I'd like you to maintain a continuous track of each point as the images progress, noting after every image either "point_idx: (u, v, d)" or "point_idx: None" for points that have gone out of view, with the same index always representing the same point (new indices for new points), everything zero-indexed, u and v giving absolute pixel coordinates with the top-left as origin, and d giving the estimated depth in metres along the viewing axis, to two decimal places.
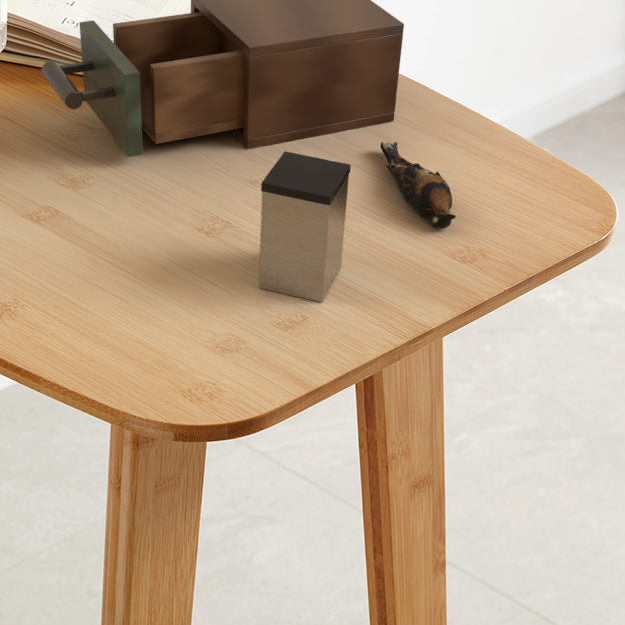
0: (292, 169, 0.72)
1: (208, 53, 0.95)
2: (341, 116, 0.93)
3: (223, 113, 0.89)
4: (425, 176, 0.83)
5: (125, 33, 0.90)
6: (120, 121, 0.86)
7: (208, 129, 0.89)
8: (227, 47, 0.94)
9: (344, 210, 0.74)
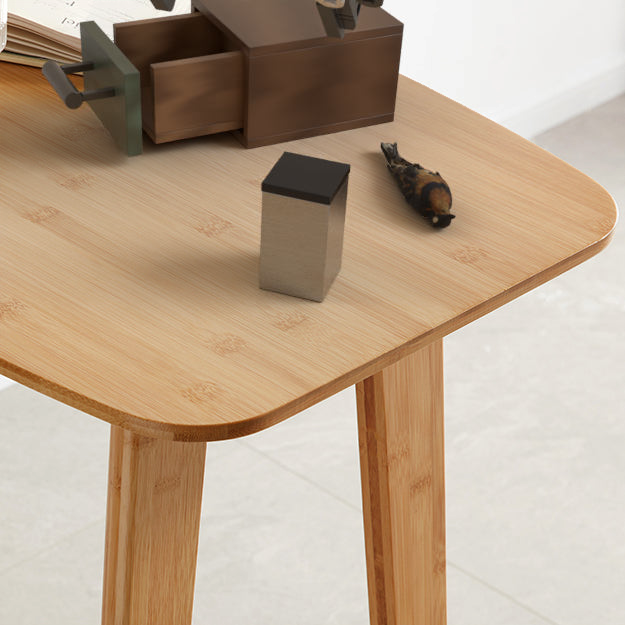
0: (292, 169, 0.72)
1: (208, 53, 0.95)
2: (341, 116, 0.93)
3: (223, 113, 0.89)
4: (425, 176, 0.83)
5: (125, 33, 0.90)
6: (120, 121, 0.86)
7: (208, 129, 0.89)
8: (227, 47, 0.94)
9: (344, 210, 0.74)
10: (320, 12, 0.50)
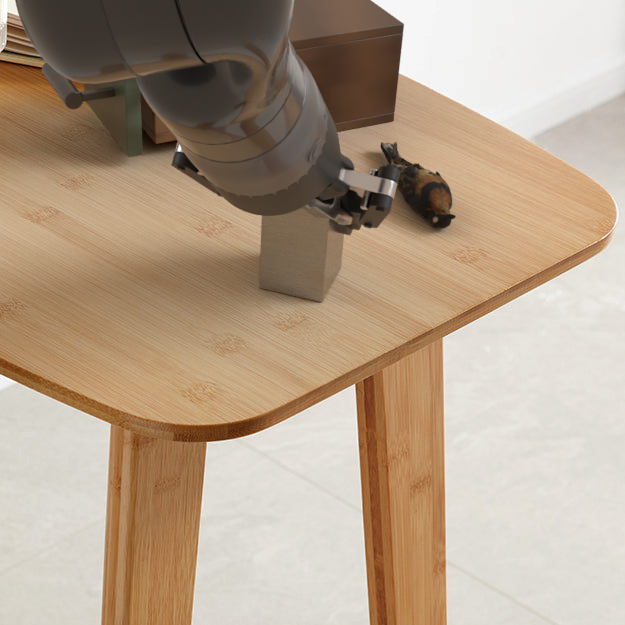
0: None
1: None
2: (341, 116, 0.93)
3: None
4: (425, 176, 0.83)
5: None
6: (120, 121, 0.86)
7: None
8: None
9: None
10: (335, 223, 0.72)
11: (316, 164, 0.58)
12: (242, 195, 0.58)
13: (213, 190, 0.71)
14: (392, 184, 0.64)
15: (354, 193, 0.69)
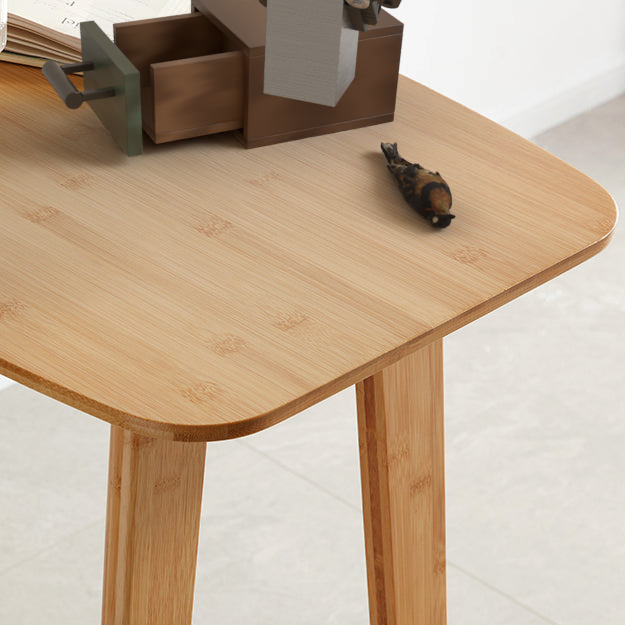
0: None
1: (208, 53, 0.95)
2: (341, 116, 0.93)
3: (223, 113, 0.89)
4: (425, 176, 0.83)
5: (125, 33, 0.90)
6: (120, 121, 0.86)
7: (208, 129, 0.89)
8: (227, 47, 0.94)
9: None
10: (349, 11, 0.64)
11: None
12: None
13: None
14: None
15: None
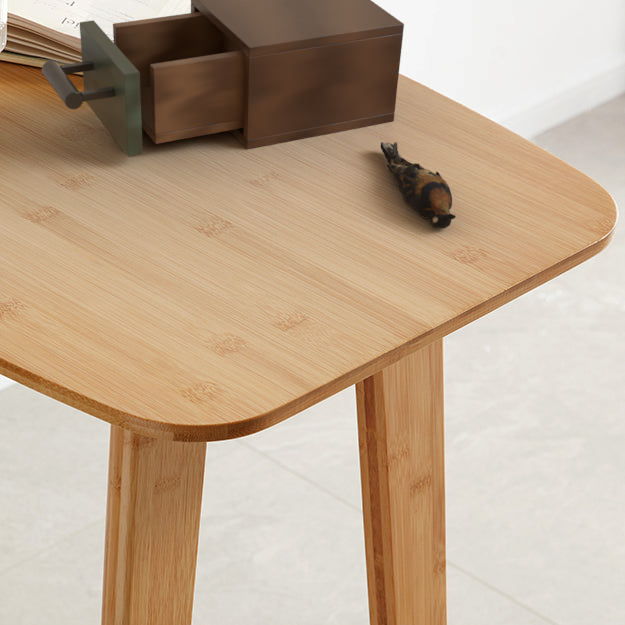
0: None
1: (208, 53, 0.95)
2: (341, 116, 0.93)
3: (223, 113, 0.89)
4: (425, 176, 0.83)
5: (125, 33, 0.90)
6: (120, 121, 0.86)
7: (208, 129, 0.89)
8: (227, 47, 0.94)
9: None
10: None
11: None
12: None
13: None
14: None
15: None
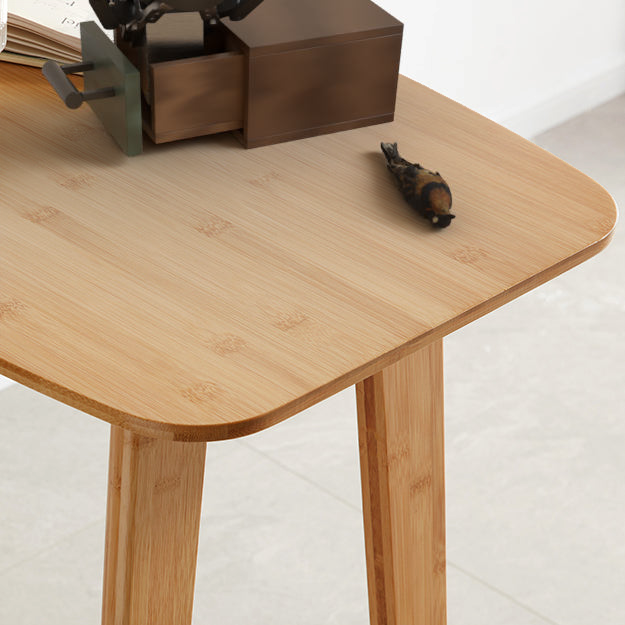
0: None
1: (208, 53, 0.95)
2: (341, 116, 0.93)
3: (223, 113, 0.89)
4: (425, 176, 0.83)
5: None
6: (120, 121, 0.86)
7: (208, 129, 0.89)
8: (227, 47, 0.94)
9: None
10: None
11: None
12: None
13: (106, 24, 0.83)
14: None
15: None
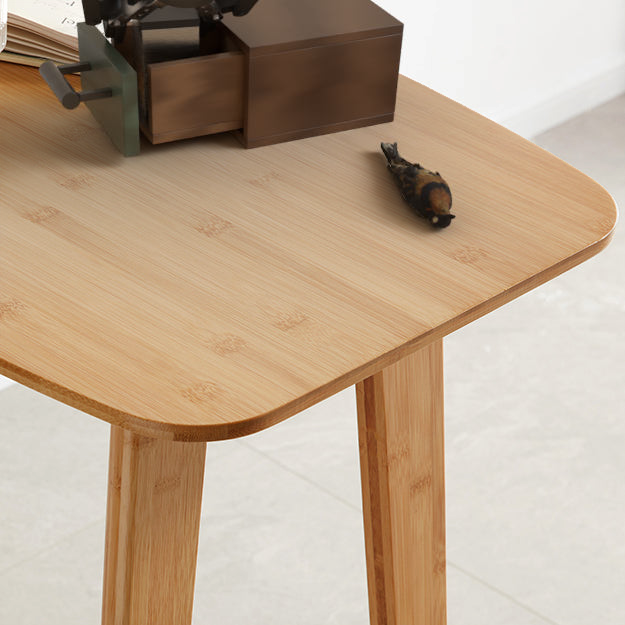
0: None
1: (206, 53, 0.95)
2: (341, 116, 0.93)
3: (220, 113, 0.89)
4: (425, 176, 0.83)
5: None
6: (117, 122, 0.86)
7: (205, 129, 0.89)
8: (224, 47, 0.94)
9: None
10: (203, 25, 0.87)
11: None
12: None
13: (89, 20, 0.82)
14: None
15: None
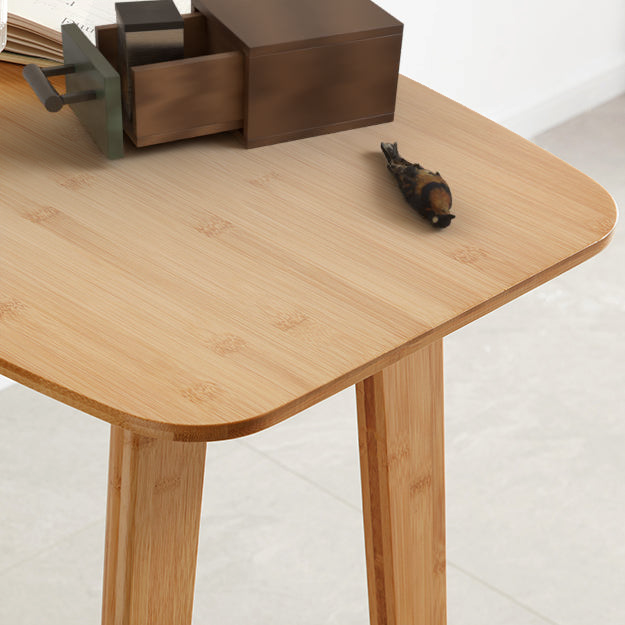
0: (135, 11, 0.86)
1: (191, 56, 0.94)
2: (341, 116, 0.93)
3: (205, 116, 0.88)
4: (425, 176, 0.83)
5: (107, 36, 0.90)
6: (101, 124, 0.85)
7: (190, 132, 0.88)
8: (210, 49, 0.93)
9: None
10: None
11: None
12: None
13: None
14: None
15: None
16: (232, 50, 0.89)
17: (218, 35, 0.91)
